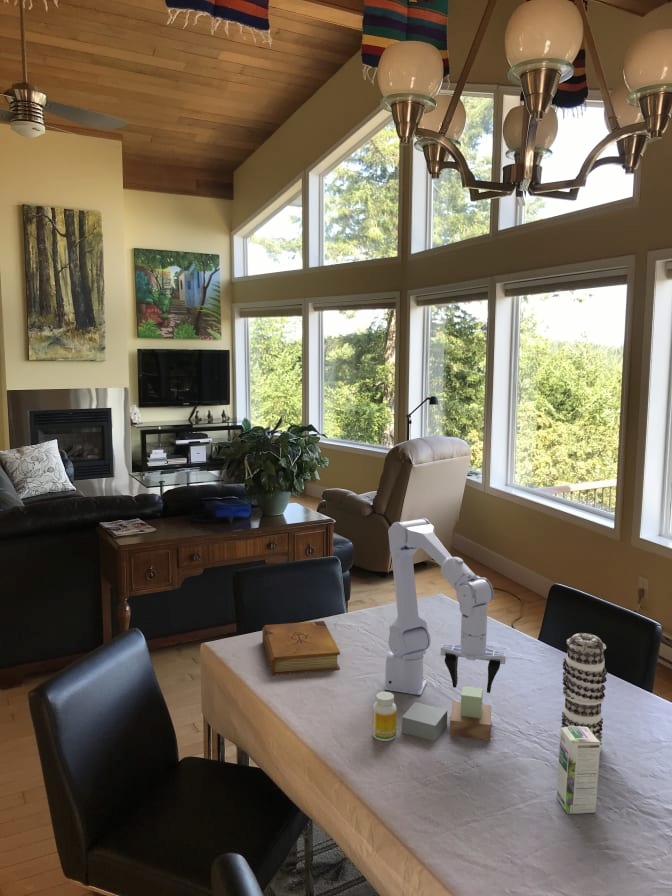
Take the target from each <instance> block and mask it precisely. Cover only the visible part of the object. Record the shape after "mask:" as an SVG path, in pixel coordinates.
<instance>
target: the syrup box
mask: <svg viewBox="0 0 672 896" xmlns="http://www.w3.org/2000/svg"><path fill="white" fill-rule="evenodd" d="M559 735H560V736H559V737H560V738H559V751H558V762H557V763H558V765H557V766H558V767H557V782H556V799H558V801H559V802H560V804H561V806H562V808H563V810H564V811H565V812H566V813H567V815H575V814H592V813H593V814H594V813H596V811H597V799H598V784H599V769H600V768H599V767H600V754H601V752H600V746H601V745H600V741H599V740H598V739H597V738H596V736H595V735H594V734H593V733H592V731H591V730H590V729H589V728H588V727H581V726H570V727H562V728H561V727H560V734H559Z"/></svg>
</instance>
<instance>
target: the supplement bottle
mask: <svg viewBox="0 0 672 896" xmlns="http://www.w3.org/2000/svg"><path fill="white" fill-rule="evenodd" d="M397 709H398V708H397V705H396V703H395V695H394V694H393V693H392V692H389V691H379V692H378V693H376V695H375V702H374V704H373V705H372V731H371V732H372V736H373V738H374V739H375V740H377V741H381V742H390V741H392V740H394V739H395V738H396V736H397V718H398V717H397V713H398V712H397Z"/></svg>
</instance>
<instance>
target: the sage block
mask: <svg viewBox="0 0 672 896" xmlns="http://www.w3.org/2000/svg"><path fill="white" fill-rule="evenodd" d="M483 692H484V688H481V687H474V686H465V685H463V687H462V690H461V695H460V702H461V716H467V717H474V718H481V714H482V705H483V698H484V697H483V694H484V693H483Z"/></svg>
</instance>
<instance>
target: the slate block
mask: <svg viewBox="0 0 672 896" xmlns="http://www.w3.org/2000/svg"><path fill="white" fill-rule="evenodd" d="M447 726H448V709H446V708H442V707H437V706H432V705H429V704H424V703H421V702H417V701H415V702H414V703H413V704H412V705H411V706H410V707H409V709H407V711H406V712H405V713H404V714H403V715H402V717H401V733H402V734H406V735H410V736H414V737H417V738H421V739H425V740H428V741H431V742H436V741H437V739H438V738H439V737H440V735H441V734H442V733H443V731H444V730H445V729H446V727H447Z"/></svg>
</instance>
